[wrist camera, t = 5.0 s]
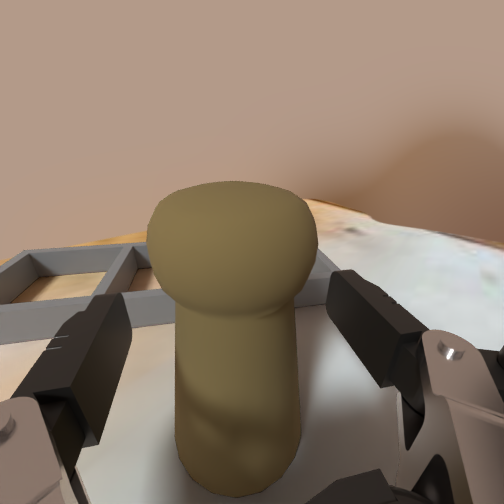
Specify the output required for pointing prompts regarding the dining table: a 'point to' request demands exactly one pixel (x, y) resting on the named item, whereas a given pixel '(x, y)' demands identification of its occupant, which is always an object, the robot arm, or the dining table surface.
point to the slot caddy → (104, 288)
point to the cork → (234, 326)
